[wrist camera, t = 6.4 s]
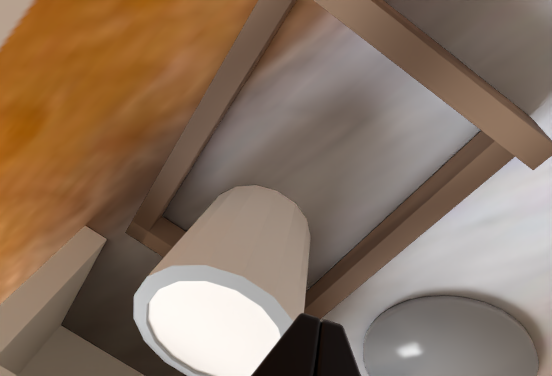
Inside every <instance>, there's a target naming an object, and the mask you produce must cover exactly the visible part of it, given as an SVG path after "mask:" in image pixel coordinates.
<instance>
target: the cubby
mask: <svg viewBox="0 0 552 376" xmlns="http://www.w3.org/2000/svg"><path fill="white" fill-rule="evenodd" d="M106 240H107V239H106V238H104V237H103V236H101V235H99V234H98V233H96V232H95V231H93V230H92V229H90V228H88V227H87V226H84V227H83V228H82V229H81V230H80V231H79V232H77V233H76V234H75V235H74V236H73V237H72V238H71V239H70V240H69V241H68V242H67V243H66V244H65V245H64V246H62V247H61V248H60V249H59V250H58V251H57V252H56V253H55V254H54V255H53V256H52V257H51V258H50V259H49V260H48V261H46V262H45V263H44V264H43V265H42V266H41V267H40V268H39V269H38V270H37V271H36V272H35V273H34V274H33V275H31V276H30V277H29V278H28V279H27V280H26V281H25V282H24V283H23V284H22V285H21V286H20V287H19V288H18V289H17V290H15V291H14V292H13V293H12V294H11V295H10V296H9V297H8V298H7V299H6V300H5V301H4V302H3V303H2V304H0V376H145V375H143V374H141V373H140V372H138V371H136V370H135V369H133V368H131V367H130V366H128V365H126V364H125V363H123V362H121V361H120V360H118V359H116V358H115V357H113V356H111V355H110V354H108V353H106V352H105V351H103V350H101V349H100V348H98V347H96V346H95V345H93V344H91V343H90V342H88V341H86V340H85V339H83V338H81V337H79V336H78V335H76V334H74V333H73V332H71V331H69V330H68V329H66V328H64V327H63V326H61V323H62V321H63V319H64V318H65V316H66V314H67V312H68V310H69V308H70V307H71V305H72V303H73V301H74V299H75V297H76V295H77V294H78V292H79V290H80V288H81V286H82V284H83V283H84V281H85V279H86V277H87V275H88V273H89V272H90V270H91V268H92V266H93V264H94V262H95V260H96V259H97V257H98V255H99V253H100V251H101V249H102V248H103V246H104V244H105V242H106Z"/></svg>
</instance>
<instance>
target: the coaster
mask: <svg viewBox="0 0 552 376" xmlns="http://www.w3.org/2000/svg"><path fill="white" fill-rule="evenodd" d="M363 360H364V364H365V368H366V370H367V372H368V374H369V376H537V372H538V365H539V361H538V355H537V352H536V349H535V347H534V344H533V342H532V339H531V337H530V335H529V334H528V332H527V331H526V329H525V328H524V327H523V326H522V325H521V324H520V323H519V322H518V321H517V320H516V319H515V318H513V317H512V316H511V315H509V314H508V313H506V312H505V311H503V310H501V309H499V308H497V307H495V306H493V305H490V304H487V303H485V302H482V301H478V300H474V299H470V298H464V297H457V296H430V297H422V298H417V299H413V300H409V301H406V302H403V303H400V304H398V305H396V306H394V307H392V308H390V309H388V310H387V311H385V312H384V313H382V314H381V315H380V316H379V317H377V318H376V319H375V321H374V322H373V323H372V324H371V325H370V327H369V329H368V330H367V333H366V335H365V338H364V346H363Z"/></svg>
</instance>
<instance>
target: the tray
mask: <svg viewBox="0 0 552 376" xmlns="http://www.w3.org/2000/svg"><path fill="white" fill-rule="evenodd" d="M296 1H297V0H258V2H257V4H256V5H255V7H254V9H253V11H252V12H251V14H250V16H249V18H248V19H247V21H246V23H245V25H244V26H243V28H242V30H241V32H240V33H239V35H238V37H237V39H236V40H235V42H234V44H233V46H232V47H231V49H230V51H229V53H228V54H227V56H226V58H225V60H224V61H223V63H222V65H221V67H220V68H219V70H218V72H217V74H216V75H215V77H214V79H213V81H212V82H211V84H210V86H209V87H208V89H207V91H206V93H205V94H204V96H203V98H202V100H201V101H200V103H199V105H198V107H197V108H196V110H195V112H194V114H193V115H192V117H191V119H190V121H189V122H188V124H187V126H186V128H185V129H184V131H183V133H182V135H181V136H180V138H179V140H178V142H177V143H176V145H175V147H174V149H173V150H172V152H171V154H170V156H169V157H168V159H167V161H166V163H165V164H164V166H163V168H162V170H161V171H160V173H159V175H158V177H157V178H156V180H155V182H154V184H153V185H152V187H151V189H150V190H149V192H148V194H147V196H146V197H145V199H144V201H143V203H142V204H141V206H140V208H139V210H138V211H137V213H136V215H135V217H134V218H133V220H132V222H131V224H130V225H129V227H128V229H127V231H126V232H125V233H126V234H128V235H130V236H131V237H133V238H134V239H136V240H137V241H139V242H140V243H142V244H144V245H145V246H147V247H148V248H150V249H151V250H153V251H154V252H156V253H158V254H159V255H161V256H162V257H165V256H166V255H167V254H168V252H169V251H170V250H171V249H172V248H173V247H174V246H175V245H176V243H177V242H178V241H179V240H180V239H181V238H182V237H183V236H184V234H185V233H186V232H185V231H184V230H182V229H181V228H179V227H178V226H176V225H175V224H173V223H172V222H170V221H169V220H167V219H166V218H164V217H162V214H163V213H164V211H165V210H166V208H167V206H168V205H169V203H170V202H171V200H172V198H173V197H174V195H175V194H176V192H177V190H178V189H179V187H180V186H181V184H182V182H183V181H184V179H185V178H186V176H187V174H188V173H189V171H190V170H191V168H192V167H193V165H194V163H195V162H196V160H197V159H198V157H199V155H200V154H201V152H202V151H203V149H204V147H205V146H206V144H207V143H208V141H209V139H210V138H211V136H212V135H213V133H214V131H215V130H216V128H217V127H218V125H219V123H220V122H221V120H222V119H223V117H224V115H225V114H226V112H227V111H228V109H229V107H230V106H231V104H232V103H233V101H234V99H235V98H236V96H237V95H238V93H239V92H240V90H241V88H242V87H243V85H244V84H245V82H246V80H247V79H248V77H249V76H250V74H251V72H252V71H253V69H254V68H255V66H256V64H257V63H258V61H259V60H260V58H261V56H262V55H263V53H264V52H265V50H266V48H267V47H268V45H269V44H270V42H271V40H272V39H273V37H274V36H275V34H276V32H277V31H278V29H279V28H280V26H281V24H282V23H283V21H284V20H285V18H286V17H287V15H288V13H289V12H290V10H291V9H292V7H293V5H294V4H295V2H296ZM314 1H315V2H316V3H317V4H319V5H320V6H321V7H323V8H324V9H325V10H327V11H328V12H329V13H330V14H332V15H333V16H334V17H336V18H337V19H338V20H339V21H341V22H342V23H343V24H345V25H346V26H347V27H348V28H350V29H351V30H352V31H354V32H355V33H356V34H358V35H359V36H360V37H361V38H363V39H364V40H365V41H367V42H368V43H369V44H370V45H372V46H373V47H374V48H376V49H377V50H378V51H380V52H381V53H382V54H383V55H385V56H386V57H387V58H389V59H390V60H391V61H392V62H394V63H395V64H396V65H398V66H399V67H400V68H402V69H403V70H404V71H405V72H407V73H408V74H409V75H411V76H412V77H413V78H414V79H416V80H417V81H418V82H420V83H421V84H422V85H423V86H425V87H426V88H427V89H429V90H430V91H431V92H433V93H434V94H435V95H436V96H438V97H439V98H440V99H442V100H443V101H444V102H445V103H447V104H448V105H449V106H451V107H452V108H453V109H455V110H456V111H457V112H458V113H460V114H461V115H462V116H464V117H465V118H466V119H467V120H469V121H470V122H471V123H473V124H474V125H475V126H477V127H478V128H479V129H480V130H482V131H481V132H479V133H478V134H477V135H476V136H475V137H474V138H473V139H472V140H471V141H470V142H469V143H468V144H466V145H465V146H464V147H463V148H462V149H461V150H460V151H459V152H458V153H457V154H456V155H455V156H453V157H452V158H451V159H450V160H449V161H448V162H447V163H446V164H445V165H444V166H443V167H441V168H440V169H439V170H438V171H437V172H436V173H435V174H434V175H433V176H432V177H431V178H430V179H428V180H427V181H426V182H425V183H424V184H423V185H422V186H421V187H420V188H419V189H418V190H416V191H415V192H414V193H413V194H412V195H411V196H410V197H409V198H408V199H407V200H406V201H405V202H403V203H402V204H401V205H400V206H399V207H398V208H397V209H396V210H395V211H394V212H393V213H391V214H390V215H389V216H388V217H387V218H386V219H385V220H384V221H383V222H382V223H381V224H380V225H378V226H377V227H376V228H375V229H374V230H373V231H372V232H371V233H370V234H369V235H368V236H367V237H365V238H364V239H363V240H362V241H361V242H360V243H359V244H358V245H357V246H356V247H355V248H353V249H352V250H351V251H350V252H349V253H348V254H347V255H346V256H345V257H344V258H343V259H342V260H340V261H339V262H338V263H337V264H336V265H335V266H334V267H333V268H332V269H331V270H330V271H328V272H327V273H326V274H325V275H324V276H323V277H322V278H321V279H320V280H319V281H318V282H317V283H315V284H314V285H313V286H312V287H311V288H310V289H309V290H308V291H307V292H306V295H305V306H304V313H306V314H309V315H312V316H315V317H318V318H319V319H321V318H322V317H323V316H325V315H326V314H327V313H328V312H329V311H331V310H332V309H333V308H334V307H335V306H337V305H338V304H339V303H340V302H341V301H343V300H344V299H345V298H346V297H347V296H349V295H350V294H351V293H352V292H353V291H355V290H356V289H357V288H358V287H359V286H361V285H362V284H363V283H364V282H365V281H367V280H368V279H369V278H370V277H371V276H373V275H374V274H375V273H376V272H377V271H379V270H380V269H381V268H382V267H383V266H385V265H386V264H387V263H388V262H389V261H391V260H392V259H393V258H394V257H395V256H397V255H398V254H399V253H400V252H401V251H402V250H404V249H405V248H406V247H407V246H408V245H410V244H411V243H412V242H413V241H414V240H416V239H417V238H418V237H419V236H420V235H422V234H423V233H424V232H425V231H426V230H428V229H429V228H430V227H431V226H432V225H434V224H435V223H436V222H437V221H438V220H440V219H441V218H442V217H443V216H444V215H446V214H447V213H448V212H449V211H450V210H452V209H453V208H454V207H455V206H456V205H458V204H459V203H460V202H461V201H462V200H464V199H465V198H466V197H467V196H468V195H470V194H471V193H472V192H473V191H474V190H476V189H477V188H478V187H479V186H480V185H482V184H483V183H484V182H485V181H486V180H488V179H489V178H490V177H491V176H492V175H494V174H495V173H496V172H497V171H498V170H500V169H501V168H502V167H503V166H504V165H506V164H507V163H508V162H509V161H510V160H511V159H513V158H514V157H517V158H518V159H519V160H520V161H522V162H523V163H524V164H526V165H527V166H528V167H530V168H531V169H532V170H534V169H535V168H537V167H538V166H539V165H541V164H542V163H543V162H544V161H546V160H547V159H548V158H549V157H551V156H552V140H551V139H550V138H549V137H548V136H547V135H546V134H545V132H544V131H543V130H542V129H541V128H540V127H539V126H538V125H537V124H536V122H535V121H534V120H533V119H532V118H531V117H530V116H529V115H527V114H526V113H525V112H524V111H522V110H521V109H520V108H518V107H517V106H516V105H515V104H513V103H512V102H511V101H510V100H508V99H507V98H506V97H505V96H503V95H502V94H501V93H500V92H498V91H497V90H496V89H495V88H493V87H492V86H491V85H490V84H488V83H487V82H486V81H484V80H483V79H482V78H481V77H479V76H478V75H477V74H476V73H474V72H473V71H472V70H471V69H469V68H468V67H467V66H466V65H464V64H463V63H462V62H461V61H459V60H458V59H457V58H455V57H454V56H453V55H452V54H450V53H449V52H448V51H447V50H445V49H444V48H443V47H442V46H440V45H439V44H438V43H437V42H435V41H434V40H433V39H432V38H430V37H429V36H428V35H427V34H425V33H424V32H423V31H421V30H420V29H419V28H418V27H416V26H415V25H414V24H413V23H411V22H410V21H409V20H408V19H406V18H405V17H404V16H403V15H401V14H400V13H399V12H398V11H396V10H395V9H394V8H392V7H391V6H390V5H389V4H387V3H386V2H385V1H384V0H314Z"/></svg>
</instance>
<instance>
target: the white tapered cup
mask: <svg viewBox="0 0 552 376" xmlns="http://www.w3.org/2000/svg"><path fill="white" fill-rule="evenodd" d="M310 239H311V237H310V232H309V227H308V221H307V219H306V218H305V216H304V215H303V213H302V212H301V210H300V209H299V208H298V206H297V205H296V203H294V202H293V201H291V200H290V199H288V198H287V197H286V196H284V195H283V194H281V193H280V192H278V191H276V190H272V189H269V188H265V187H262V186H258V185H250V186H236V187H234V188H232V189H230V190H228V191H226V192H224V193H222V194H220V195H219V196H218V197H217V198H216V200H215V201H214V202H213V203H212V204H211V205H210V206H209V207H208V209H207V210H206V211H205V212H204V213H203V214H202V215H201V216H200V218H199V219H198V220H197V221H196V222H195V223H194V224H193V225H192V227H191V228H190V229H189V230H188V231H187V232H186V233H185V234H184V236H183V237H182V238H181V239H180V240H179V241H178V242H177V243H176V245H175V246H174V247H173V248H172V249H171V250H170V251H169V252H168V254H167V255H166V256H165V257H164V258H163V259H162V260H161V261H160V262H159V264H158V265H157V266H156V267H155V268H154V269H153V270H152V271H151V273H150V274H149V275H148V276H147V277H146V279H145V280H144V282H143V283H142V284H141V286H140V287H139V289H138V290H137V292H136V293H135V295H134V320H135V322H136V325H137V327H138V329H139V331H140V333H141V335H142V337H143V339H144V341H145V342H146V343H147V344H148V345H149V346H150V347H151V348H152V349H153V351H154V352H155V353H156V354H157V355H158V356H159V357H160V358H161V359H162V360H163V361H164V362H166V363H167V364H169V365H170V366H172V367H174V368H175V369H177V370H179V371H180V372H182V373H184V374H185V375H187V376H251V375H252V374H253V372H254V371H255V370H256V369H257V367H258V366H259V365H260V363H261V362H262V361H263V360H264V358H265V357H266V356H267V355H268V353H269V352H270V351H271V349H272V348H273V347H274V346H275V344H276V343H277V342H278V341H279V339H280V338H281V337H282V335H283V334H284V333H285V332H286V330H287V329H288V328H289V327H290V325H291V324H292V323H293V321H294V320H295V319H296V318H297V316H298V315H299V314H301V313H304V306H305V295H306V284H307V273H308V262H309V250H310Z"/></svg>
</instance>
